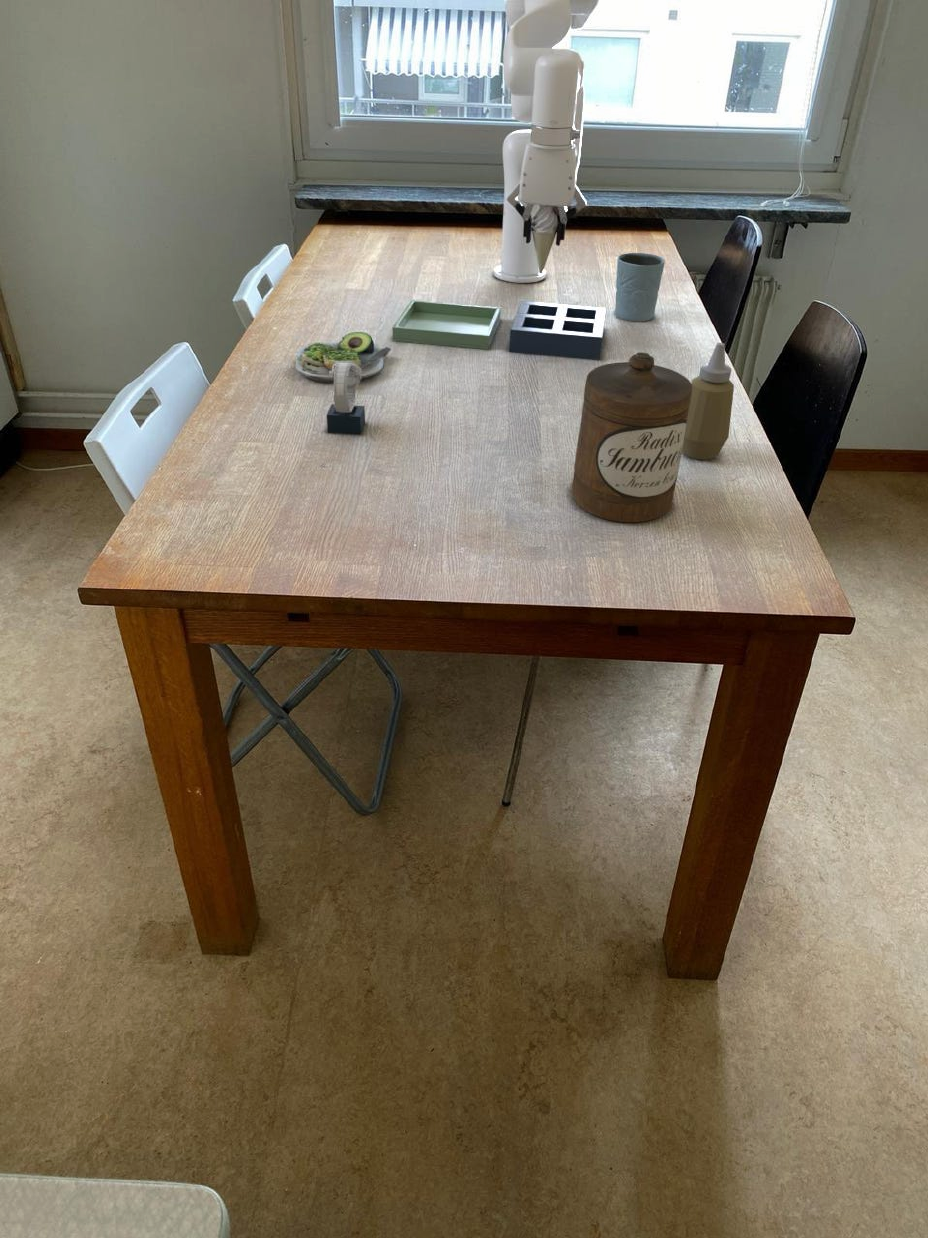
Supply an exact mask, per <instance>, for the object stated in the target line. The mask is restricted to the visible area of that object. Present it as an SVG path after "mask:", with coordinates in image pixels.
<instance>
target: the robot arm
mask: <svg viewBox="0 0 928 1238" xmlns="http://www.w3.org/2000/svg"><path fill="white" fill-rule="evenodd" d="M599 2H600V0H504V11H505V17H506V22H507V26H508V29H509V30H508V32H507V35H506V36H505V41H504V45H503V53H502V54H503V55H502V60H503V61H502V62H503V63H502V64H503V81H504V85H505V88H506V90H507V91H508V93H509V94H511V112H512V116H513V118H514V119H515V120H516V121H517V122H519V123H522V124H531V125H530V129H519V130H514V131H511V132H510V133H509V134H507V135H506V137H505V138H504V140H503V143H502V165H503V179H504V182H503V183H504V184H503V186H504V188H503V212H502V213H503V214H502V232H501V252H500V253H501V254H500V265H498V266H496V267H494V269H493V275H494V277H495V278H497V279H499V280H502V281H505V282H509V283H517V284H518V283H519V284H530V283H536V282H540V281H543V280H544V279H545V278H546V274H547V271H546V270H545V269H544V270H543V273H542V274H540V272H539V267H538V261H537V256H536V251H535V245H534V239H533V234H532V230H531V228H532V227H533V226H532V222H533V217H534V216H535V215H536V213H537V212H538V210H539V209H540V206H539V205H544V206H553V207H557V209H558V214H559V215H558V216H559V219H558V225H557V232H556V235H555V245H556V246H557V247H559V246H560V245H561V242H562V241H565V237H566V227H567V222H569V220H570V219H572V218H573V217H574V216H575V215H576V214H577V213H578V212H580V211H582V210H583V209H584V208H586V207H587V200H586V199H585V197H584V195H583V194H582V193H581V191H580V189H579V187H578V186H577V179H578V178H577V175H578V169H579V166H580V159H581V150H582V149H581V148H582V139H583V138H582V137H583V129H584V128H583V127H584V114H585V101H586V100H585V99H586V97H585V95H586V94H585V87H584V77H585V62H584V60H582V57H581V55H580V53H579V52H577V51H576V50H574V49H569V48H555V47H557V46H558V45H560V44H561V43H562V42H563V41H565V39H566V38H567V36H568V34H569V33H570V31H579V30H582V29H584V28H586V27H587V25H589V22H590V20H591V19H592V18H593V16H594V14H595V12H596V10H597V8H598V4H599ZM574 200H575V201H576V203H575V204H574V205H572V204H573V202H574ZM571 205H572V206H571ZM569 206H570V207H569ZM568 207H569V209H568Z"/></svg>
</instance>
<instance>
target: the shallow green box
mask: <svg viewBox="0 0 928 1238" xmlns="http://www.w3.org/2000/svg"><path fill="white" fill-rule="evenodd" d="M501 315H502V307H500V306H499V307H497V306H487V305H486V306H485V305H473V304H463V303H461V304H460V303H450V302H449V303H448V302H440V301H439V302H437V301H429V300H428V301H427V300H417V299H416V300H415V299H410V301H409V303H408V304H407V306H406V307H405V308H404V310H403V311H402V313H401V314H400V316H399V317H398V318H397V320H396V321H395V323H394V325H393V326H392V341H393V342H400V343H401V342H402V343H411V344H424V345H435V346H444V347H454V348H455V347H457V348H467V349H477V350H478V349H480V350H489V349H490V346H491V344H492V341H493V339H494V336H495V334H496V331H497V329H498V327H499V324H500V322H501Z"/></svg>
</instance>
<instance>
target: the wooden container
mask: <svg viewBox="0 0 928 1238" xmlns="http://www.w3.org/2000/svg"><path fill="white" fill-rule="evenodd" d="M691 382H692V381H690V380H689V379H688V378H687V377H686V376H684V375H683V374H681V373H680V372H678V371H675V370H673V369H670V368H668V367H664V366H660V365H657V364H655V358H654V356H652V355H650V354H649V353H647V352H642V351H641V352H640V351H639V352H636V353H635V354H633V355H632V356H631V357H629V359H628V361H620V362H612V363H606V364H603V365H599V366H597V367H594V368H593V369H592V370H590V371H589V372H588V373H587V375H586V379H585V383H584V391H583V401H582V402H583V403H582V411H581V418H580V425H579V431H578V437H577V442H576V443H577V444H576V451H575V459H574V466H573V467H574V468H573V470H574V471H573V477H572V484H571V496H572V499H573V501H574V502H575V504H576V505H577V506H578V507H579V508H581V509H582V510H584V511H585V512H586V513H589V514H590V515H593V516H596V517H598V518H602V519H605V520H608V521H613V522H620V523H641V522H648V521H653V520H654V519H657V518H660V517H661V516H663V515H665V514H666V513H667V512H668V511H669V510H670V509H671V507H672V504H673V500H674V494H675V489H676V485H677V481H678V480H677V479H678V475H679V470H680V466H681V461H682V454H683V452H682V448H683V441H684V435H685V430H686V424H687V418H688V410H689V406H690V401H691V396H692V384H691Z"/></svg>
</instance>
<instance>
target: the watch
mask: <svg viewBox="0 0 928 1238" xmlns="http://www.w3.org/2000/svg"><path fill="white" fill-rule="evenodd" d="M329 375H330V376H333V379H334V383H333V398H332V399H333V403H331V404H330V406H329V409H328V410H327V413H326V429H327V433H330V434H344V435H345V434H346V435H362V433H363V430H364V428H365V426H366V410H365V405H356V404H355V401H356V393H357V392H356V391H357V389H359V386H360V383H361V380H362V379H361V376H362V370H361V368H360V367H359V366H358V365H356V364H355V363H352V362H349V361H340V362H337V363H335V364H334V365H333V367H332V371H329Z"/></svg>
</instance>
